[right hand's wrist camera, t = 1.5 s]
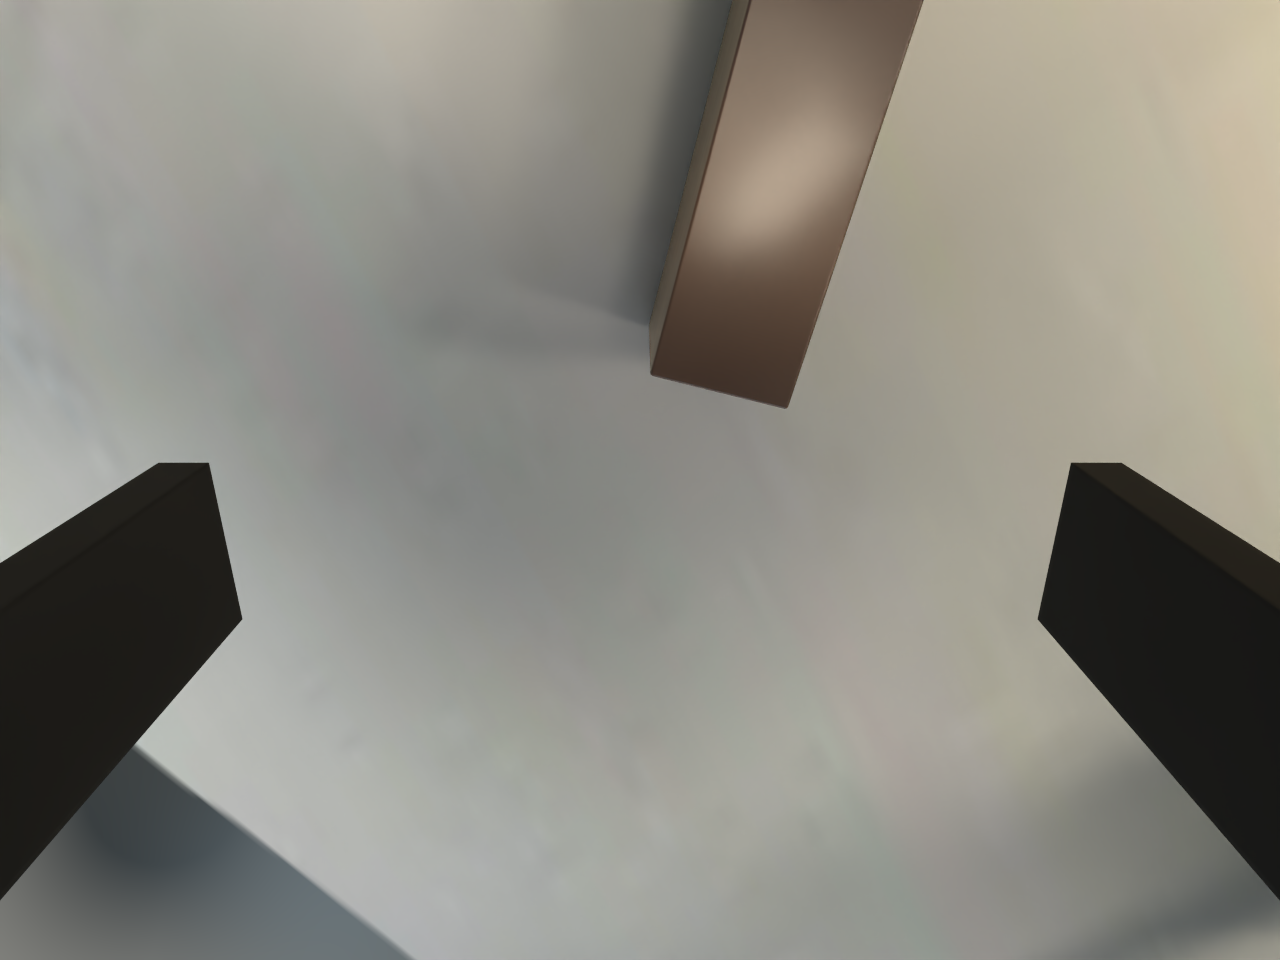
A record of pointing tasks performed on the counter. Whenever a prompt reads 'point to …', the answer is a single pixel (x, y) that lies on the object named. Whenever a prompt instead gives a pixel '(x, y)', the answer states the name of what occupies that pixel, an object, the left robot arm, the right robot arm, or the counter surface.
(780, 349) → the walnut rail
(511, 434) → the counter surface
